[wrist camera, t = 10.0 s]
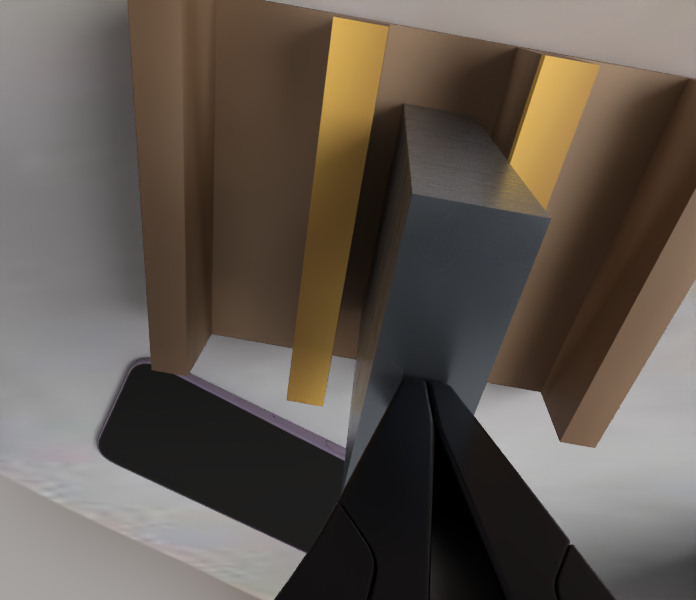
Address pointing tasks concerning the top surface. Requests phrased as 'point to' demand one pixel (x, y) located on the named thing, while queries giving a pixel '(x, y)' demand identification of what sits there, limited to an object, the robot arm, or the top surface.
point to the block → (441, 266)
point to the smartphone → (224, 453)
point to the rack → (371, 182)
